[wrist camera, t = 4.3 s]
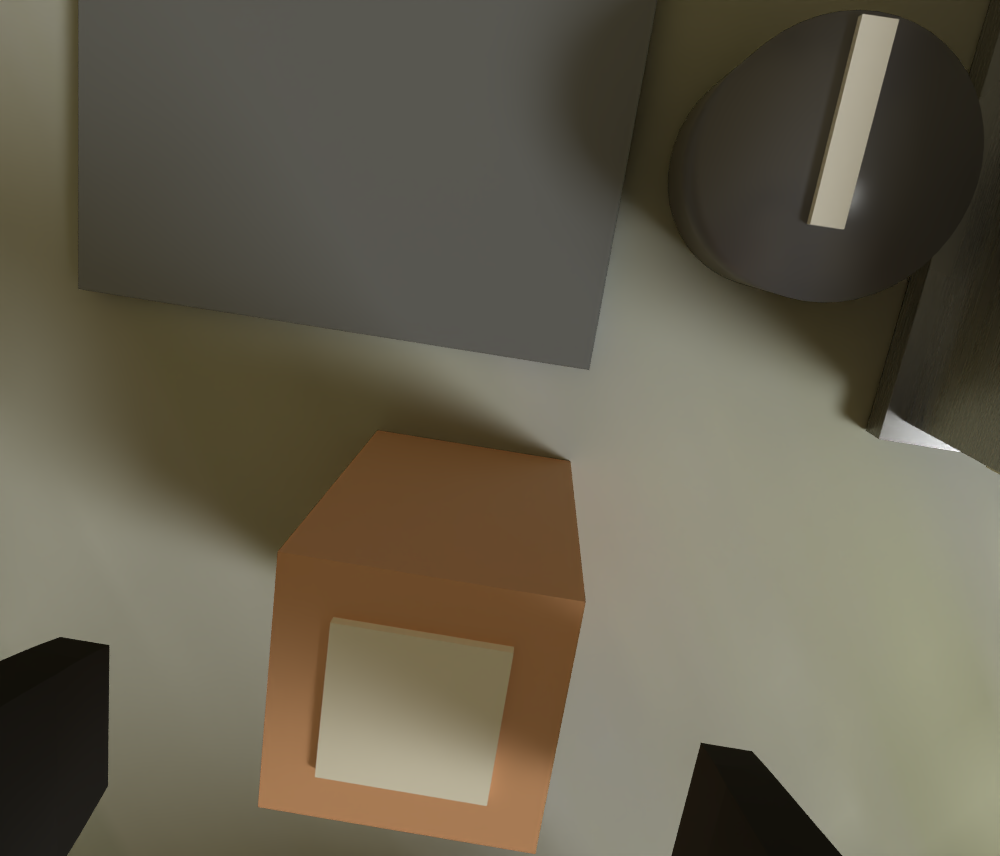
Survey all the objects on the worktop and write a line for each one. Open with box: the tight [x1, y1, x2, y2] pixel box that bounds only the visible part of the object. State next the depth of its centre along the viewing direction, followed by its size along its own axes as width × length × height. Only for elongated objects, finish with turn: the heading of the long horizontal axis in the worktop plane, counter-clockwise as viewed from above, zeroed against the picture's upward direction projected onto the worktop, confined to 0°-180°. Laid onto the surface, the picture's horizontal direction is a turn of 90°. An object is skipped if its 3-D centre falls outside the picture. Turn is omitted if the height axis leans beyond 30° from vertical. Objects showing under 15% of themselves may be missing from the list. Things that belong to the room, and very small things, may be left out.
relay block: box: [258, 430, 586, 854], centre depth 13 cm, size 4×4×6 cm
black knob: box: [668, 10, 984, 302], centre depth 12 cm, size 4×4×3 cm
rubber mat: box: [78, 0, 657, 370], centre depth 13 cm, size 10×10×1 cm
